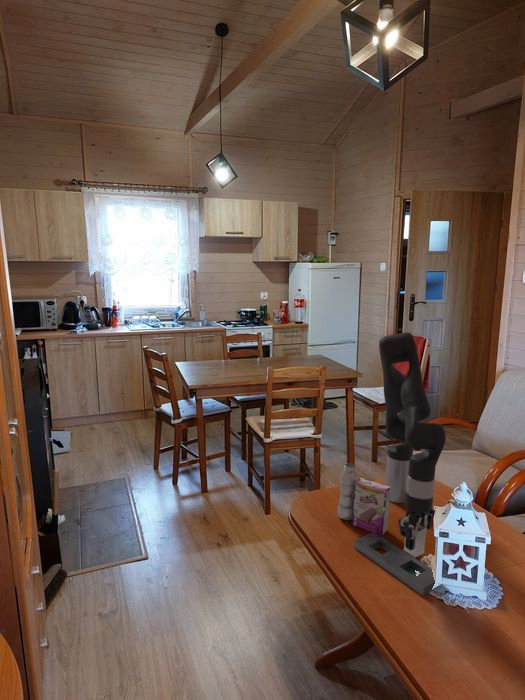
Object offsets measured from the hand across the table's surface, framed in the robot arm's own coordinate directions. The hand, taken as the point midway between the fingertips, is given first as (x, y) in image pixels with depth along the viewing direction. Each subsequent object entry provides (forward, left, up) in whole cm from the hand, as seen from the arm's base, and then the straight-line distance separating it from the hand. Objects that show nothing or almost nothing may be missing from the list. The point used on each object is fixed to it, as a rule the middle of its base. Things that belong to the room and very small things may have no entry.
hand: (414, 545), depth 133 cm
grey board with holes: (0, -6, -10) cm, 11 cm away
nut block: (0, 0, -2) cm, 2 cm away
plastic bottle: (-6, -33, -10) cm, 35 cm away
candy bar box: (-8, -24, -10) cm, 27 cm away
